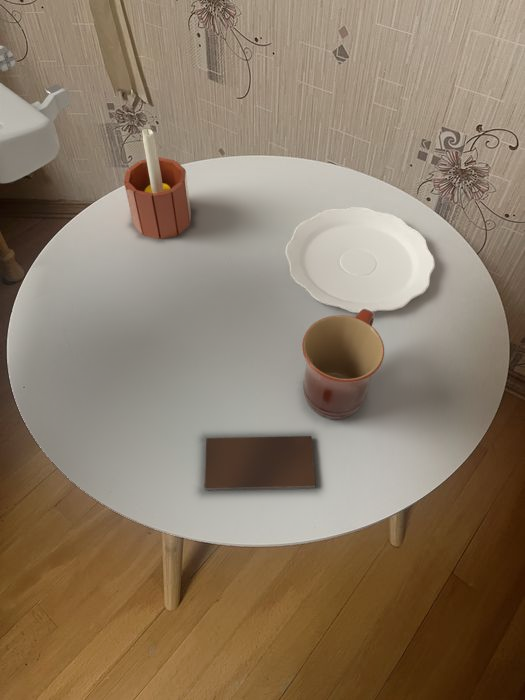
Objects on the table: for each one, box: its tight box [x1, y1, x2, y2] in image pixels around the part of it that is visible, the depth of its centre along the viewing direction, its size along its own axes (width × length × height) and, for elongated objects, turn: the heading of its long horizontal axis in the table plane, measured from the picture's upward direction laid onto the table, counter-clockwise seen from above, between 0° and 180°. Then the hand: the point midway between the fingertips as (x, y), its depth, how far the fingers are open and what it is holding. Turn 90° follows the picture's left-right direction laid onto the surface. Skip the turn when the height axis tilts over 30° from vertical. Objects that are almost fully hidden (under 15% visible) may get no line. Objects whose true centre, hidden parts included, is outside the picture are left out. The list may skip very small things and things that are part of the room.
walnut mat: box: [204, 435, 316, 491], centre depth 63 cm, size 12×6×1 cm, turn 92°
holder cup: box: [123, 156, 192, 240], centre depth 84 cm, size 9×9×8 cm
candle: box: [141, 128, 171, 193], centre depth 81 cm, size 5×5×16 cm
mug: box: [301, 309, 385, 420], centre depth 65 cm, size 12×9×10 cm
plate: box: [284, 206, 436, 314], centre depth 81 cm, size 21×21×2 cm
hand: (37, 73), depth 61 cm, fingers open, 8 cm apart
